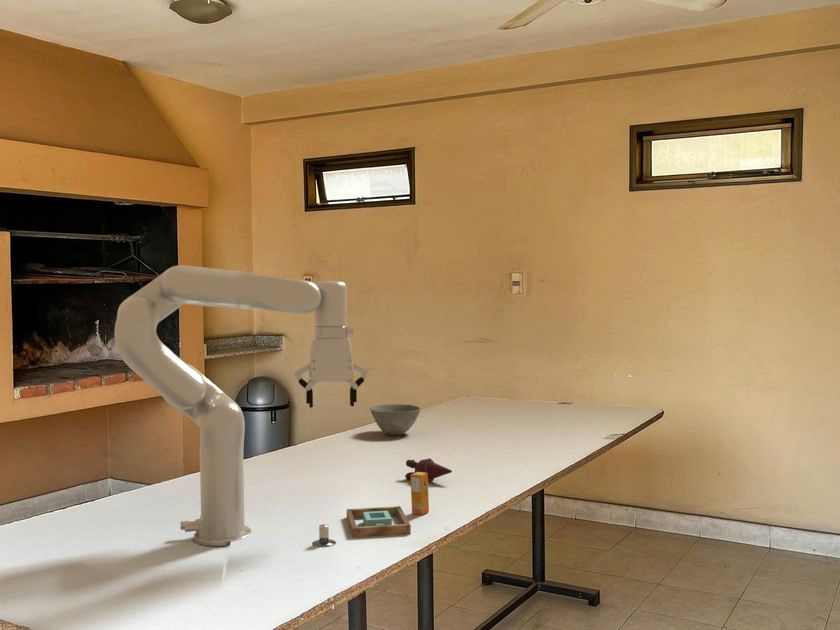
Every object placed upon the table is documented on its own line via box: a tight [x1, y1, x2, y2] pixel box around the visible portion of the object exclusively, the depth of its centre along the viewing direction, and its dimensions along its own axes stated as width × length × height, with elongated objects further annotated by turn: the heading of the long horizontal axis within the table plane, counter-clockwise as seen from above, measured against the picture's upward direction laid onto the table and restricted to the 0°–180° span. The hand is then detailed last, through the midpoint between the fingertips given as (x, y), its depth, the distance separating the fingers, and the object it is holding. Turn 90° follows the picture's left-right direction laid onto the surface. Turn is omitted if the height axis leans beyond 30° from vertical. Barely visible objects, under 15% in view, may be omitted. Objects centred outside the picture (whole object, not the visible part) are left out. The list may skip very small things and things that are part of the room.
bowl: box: [370, 403, 422, 436], centre depth 297 cm, size 19×19×10 cm
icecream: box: [405, 458, 453, 484], centre depth 229 cm, size 7×7×15 cm
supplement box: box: [410, 472, 430, 516], centre depth 198 cm, size 3×3×10 cm
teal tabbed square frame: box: [362, 511, 393, 526], centre depth 186 cm, size 10×6×3 cm, turn 11°
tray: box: [346, 505, 412, 539], centre depth 186 cm, size 13×15×3 cm
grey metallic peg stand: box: [311, 523, 337, 548], centre depth 173 cm, size 5×5×5 cm
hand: (331, 406), depth 188 cm, fingers open, 9 cm apart
